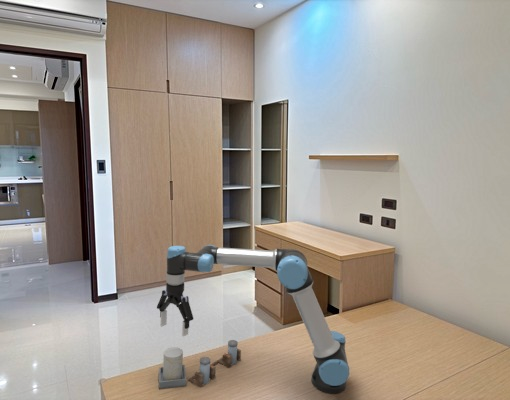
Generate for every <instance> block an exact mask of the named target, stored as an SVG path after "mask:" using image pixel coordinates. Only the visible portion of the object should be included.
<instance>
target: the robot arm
mask: <svg viewBox="0 0 510 400" xmlns="http://www.w3.org/2000/svg"><path fill="white" fill-rule="evenodd" d="M214 265H223V266H224V265H225V266H239V267H241V266H242V267H255V268H269V269H273V270H274V271H277V272H276V273H277V274H276V275H277V279H278V281H279V283H280V284H281V285H282V286H283V287H284V289H285V293H287V294H289V295H290V296H292V298H293V301H294V303H295V305H296V308H297V310H298V313H299V316H300V317H301V320H302V322H303V324H304V326H305V329H306V331H307V334H308V336H309V339H310V340H311V343H312V346H313V350H312V354H313V357H314V360H315V363H316V365H315V366H314V368H313V371H312V372H311V384H312V385H313V386H314V388H316V389H317V390H319V391H320V392H324V393H327V394H339V393H342V392H344V391H345V390H346V387H347V380H348V379H349V377H350V366H349V363H348V358H347V353H346V342H347V341H346V337H345V335H344V334H343V333H340V332H338V331H334V330H330V328H329V325H328V322H327V320H326V317H325V315H324V313H323V310H322V308H321V306H320V303H319V302H318V301H319V300H318V299H317V297H316V294H315V292H314V290H313V284H314V279H313V277H312V275H311V272H310V270H309V267H308V260H307V258H306V256H305V254H304V253H303V252H301V251H299V250H297V249H293V248H291V249H290V248H275V249H274V250H269V249H267V250H265V249H250V248H236V247H234V248H233V247H232V248H231V247H218V246H217V247H216V246H215V245H213V244H208V245H206V246H203V247H202V248H200V250H198V251H197V252H188V251H186V247H185V246H183V245H171V246H170V247H168V248H167V255H166V278H165V279H166V280H165V281H166V283H165V289H164V290H162V291H161V296H160V299H159V301H158V303H157V306H156V309H157V310H159V312H160V313H159V314H160V315H159V317H160V327H165V326H166V325H167V324H168V323H167V319H168V317H167V316H168V315H167V313H168V311H167V309H168V307H169V306H170V305H174V306H176V308H177V309H178V310H179V313H180V315H181V317H182V319H183V320H182V325H181V326H182V327H181V328H182V329H181V331H182V332H181V336H182V337H185V336H188V335H189V328H190V321H193V320H194V315H193V312H192V311H193V310H192V308H191V304H190V301H189V296H188V295H187V296H184V291H185V274H186V271H190V272H197V273H210V272H211V271H213V268H214Z"/></svg>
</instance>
